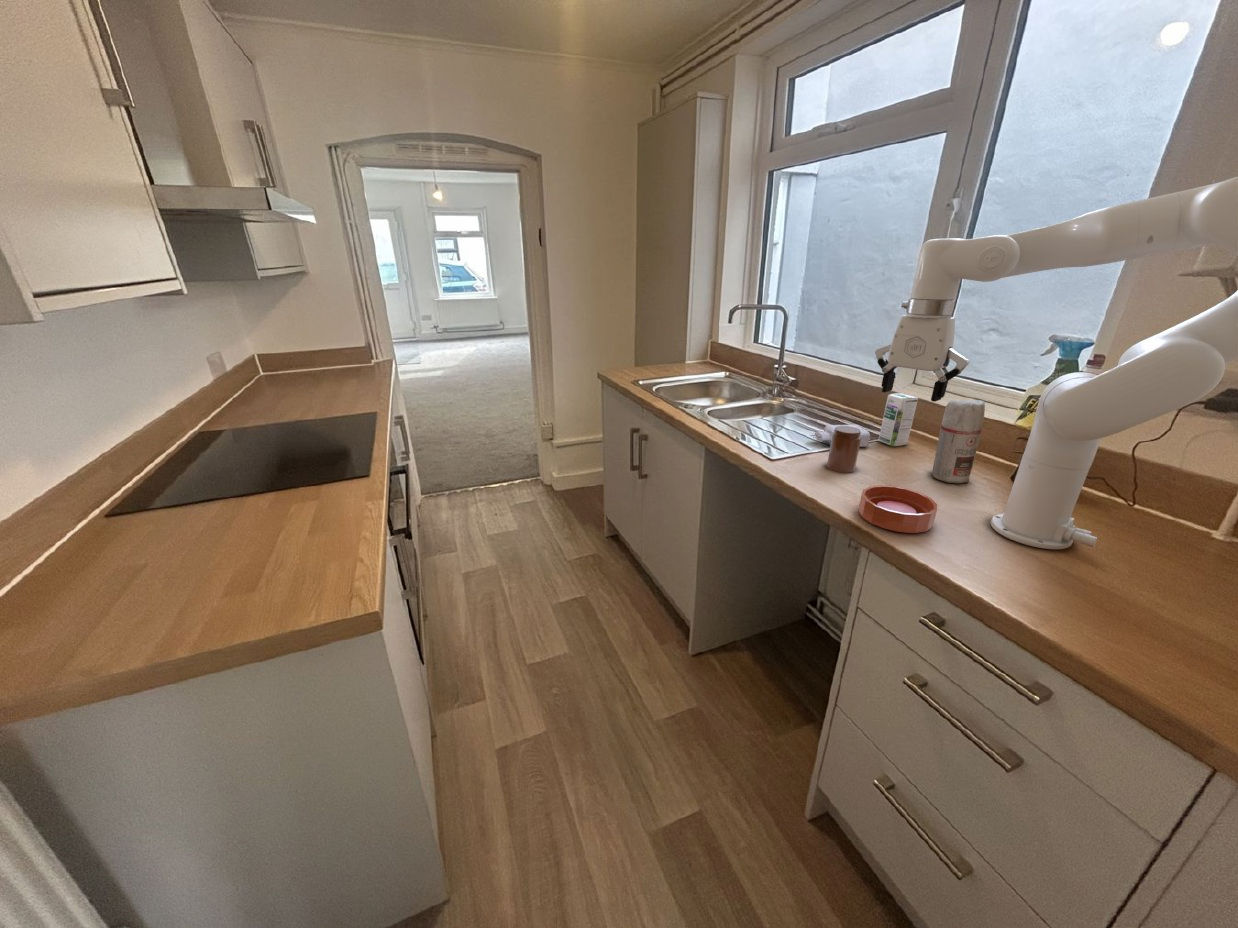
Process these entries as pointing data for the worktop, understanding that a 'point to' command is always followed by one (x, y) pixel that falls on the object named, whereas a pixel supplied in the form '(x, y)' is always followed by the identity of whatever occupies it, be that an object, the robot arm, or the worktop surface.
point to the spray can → (958, 440)
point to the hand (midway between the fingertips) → (910, 395)
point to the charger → (830, 429)
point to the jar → (844, 449)
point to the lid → (897, 507)
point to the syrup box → (897, 419)
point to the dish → (893, 518)
